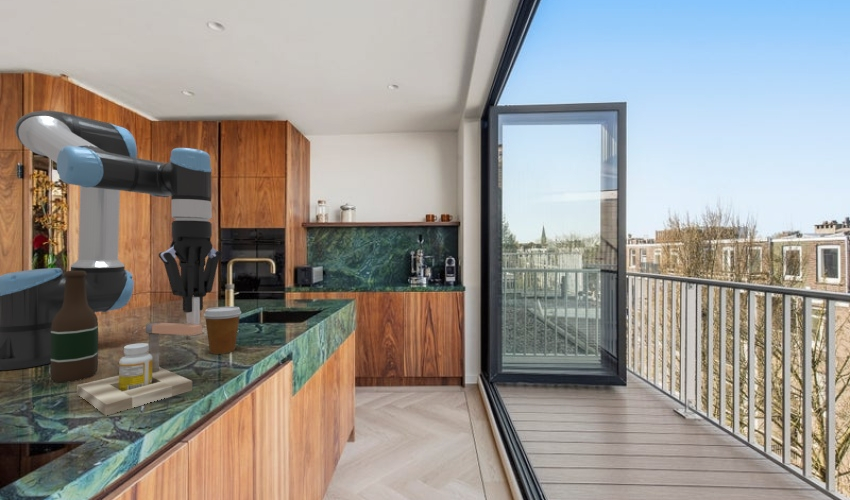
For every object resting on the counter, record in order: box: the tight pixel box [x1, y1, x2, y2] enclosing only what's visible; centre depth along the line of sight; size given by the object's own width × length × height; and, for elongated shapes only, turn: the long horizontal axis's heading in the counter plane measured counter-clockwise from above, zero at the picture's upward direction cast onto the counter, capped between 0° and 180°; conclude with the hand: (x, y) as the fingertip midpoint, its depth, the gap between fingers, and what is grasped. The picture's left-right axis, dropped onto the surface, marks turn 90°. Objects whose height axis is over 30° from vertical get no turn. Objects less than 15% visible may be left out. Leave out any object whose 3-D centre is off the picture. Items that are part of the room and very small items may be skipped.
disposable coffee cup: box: [203, 306, 242, 355], centre depth 105 cm, size 10×10×12 cm
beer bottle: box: [50, 270, 99, 383], centre depth 83 cm, size 8×8×24 cm
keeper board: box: [76, 333, 193, 417], centre depth 75 cm, size 16×14×10 cm
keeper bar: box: [145, 321, 203, 336], centre depth 81 cm, size 12×3×2 cm, turn 81°
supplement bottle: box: [118, 342, 152, 392], centre depth 75 cm, size 5×5×10 cm
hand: (193, 326), depth 82 cm, fingers closed
